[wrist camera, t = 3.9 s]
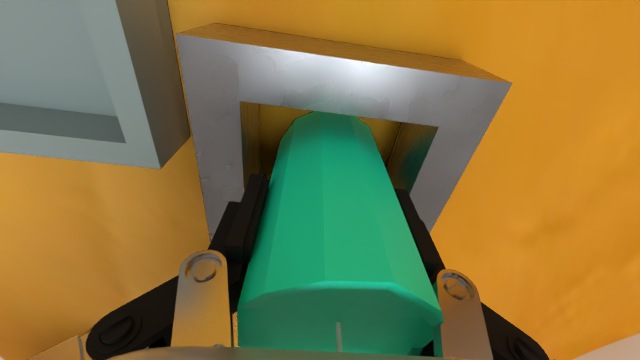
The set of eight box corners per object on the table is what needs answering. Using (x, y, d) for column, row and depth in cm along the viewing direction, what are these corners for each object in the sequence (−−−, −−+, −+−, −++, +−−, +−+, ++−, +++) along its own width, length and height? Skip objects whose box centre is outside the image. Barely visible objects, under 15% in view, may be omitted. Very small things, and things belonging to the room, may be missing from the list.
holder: (391, 229, 20) (406, 275, 16) (231, 214, 19) (213, 260, 16) (463, 60, 13) (512, 83, 10) (214, 23, 12) (175, 33, 9)
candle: (338, 84, 13) (394, 321, 4) (394, 161, 16) (512, 415, 6) (258, 148, 16) (157, 405, 6) (319, 207, 18) (322, 448, 9)
